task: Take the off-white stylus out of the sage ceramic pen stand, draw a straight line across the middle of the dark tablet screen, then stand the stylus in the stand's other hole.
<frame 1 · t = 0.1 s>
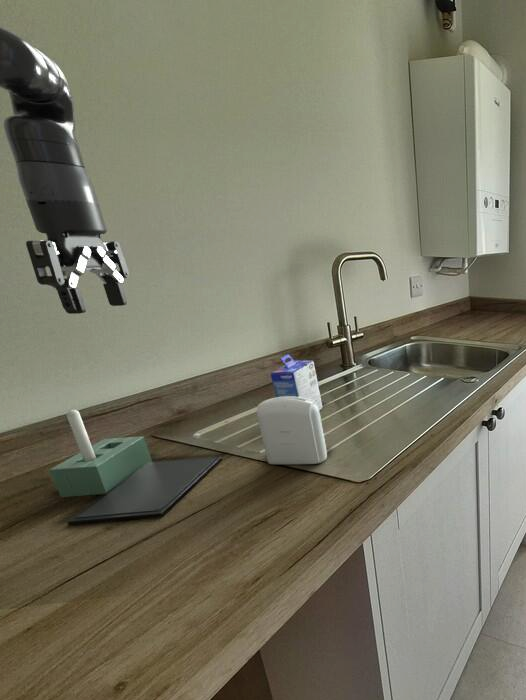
hand: (98, 309, 66), 28 cm above the table, tool pointing down, fingers open, 8 cm apart
photo printer: (298, 461, 75), on the table
stylus: (99, 484, 68), resting in pen stand
tablet: (155, 488, 66), on the table
pen stand: (109, 477, 70), on the table
ink cartridge box: (302, 416, 95), on the table
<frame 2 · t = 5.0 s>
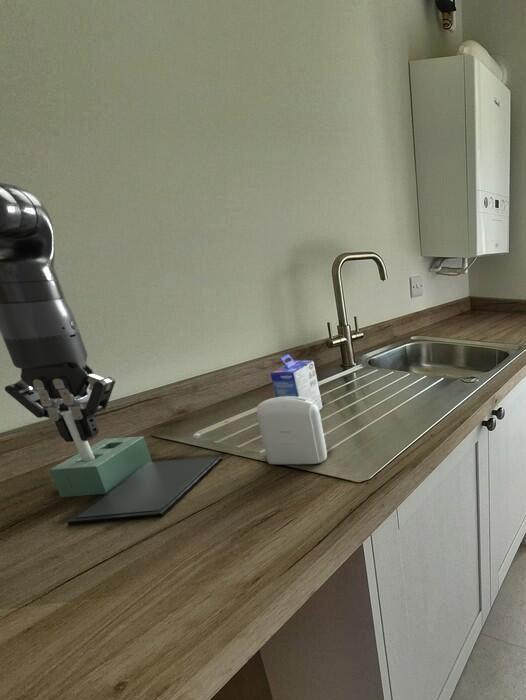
hand: (82, 438, 65), 8 cm above the table, tool pointing down, fingers closed on stylus
stylus: (99, 484, 68), resting in pen stand, touching gripper
everything else where it was.
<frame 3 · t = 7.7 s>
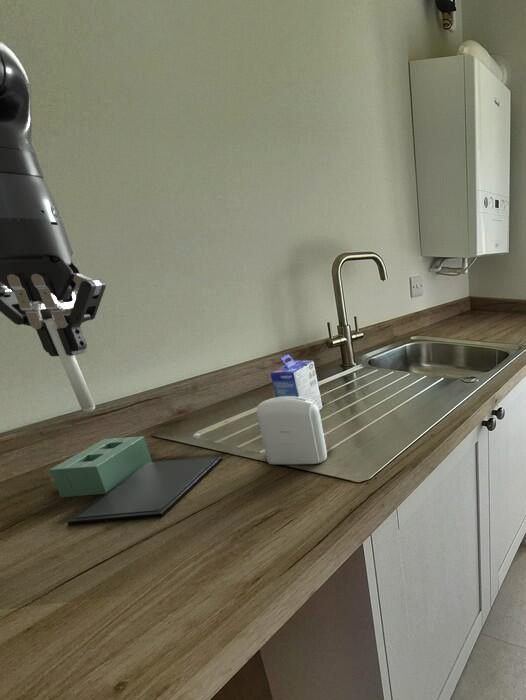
hand: (68, 354, 55), 24 cm above the table, tool pointing down, fingers closed on stylus, 1 cm apart
stylus: (90, 411, 58), point 15 cm above the table, touching gripper
everything else where it was.
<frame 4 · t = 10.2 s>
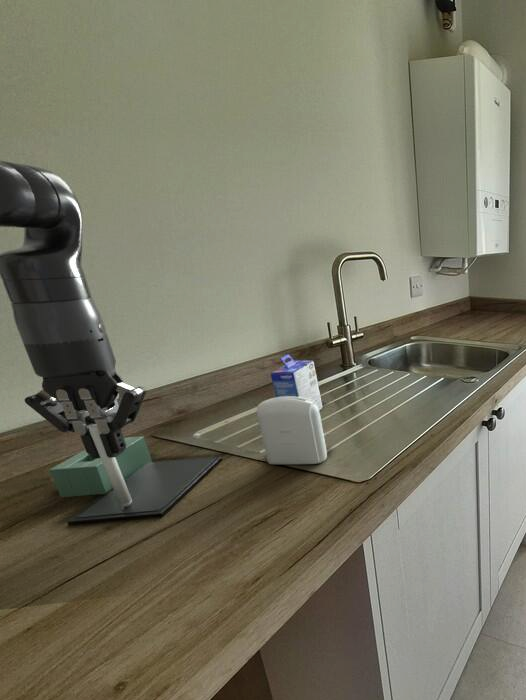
hand: (109, 455, 58), 9 cm above the table, tool pointing down, fingers closed on stylus, 1 cm apart
stylus: (127, 505, 61), point 1 cm above the table, touching gripper
everything else where it was.
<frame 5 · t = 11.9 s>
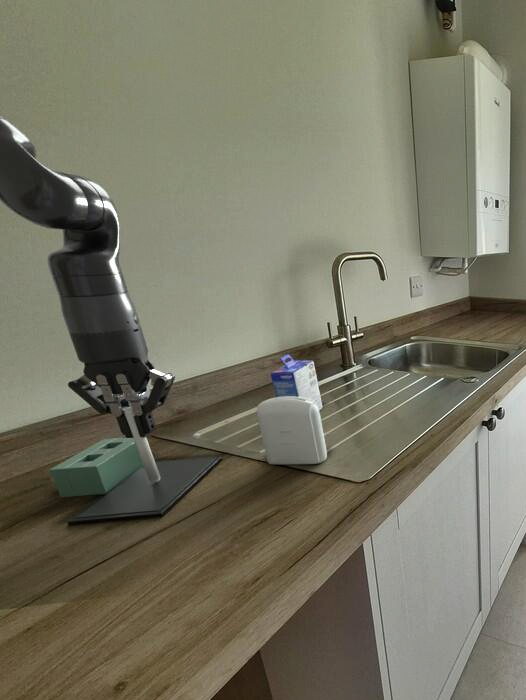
hand: (141, 435, 64), 9 cm above the table, tool pointing down, fingers closed on stylus, 1 cm apart
stylus: (156, 482, 67), point 1 cm above the table, touching gripper
everything else where it was.
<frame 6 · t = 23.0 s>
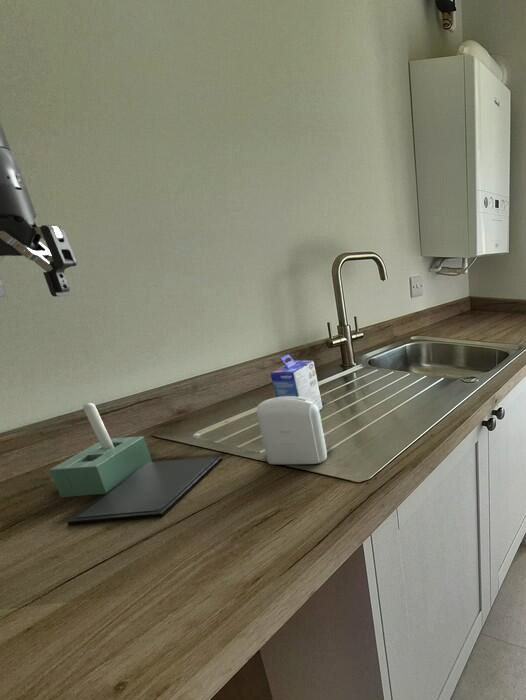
hand: (29, 296, 64), 30 cm above the table, tool pointing down, fingers open, 8 cm apart
stylus: (119, 471, 72), resting in pen stand, tilted 6°
everything else where it was.
at the end: stylus 0.0 cm from the target spot in the pen stand, point 0.0 cm above the pen stand's base; stylus tilted 6°; the gripper is holding nothing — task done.
